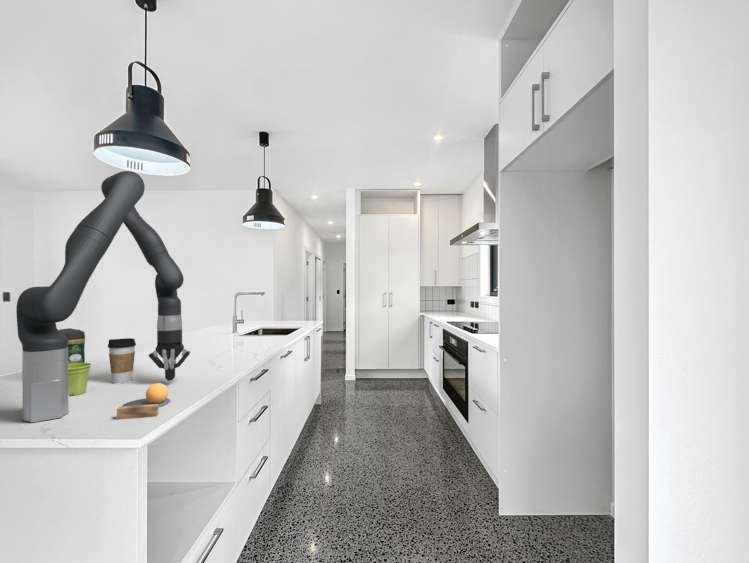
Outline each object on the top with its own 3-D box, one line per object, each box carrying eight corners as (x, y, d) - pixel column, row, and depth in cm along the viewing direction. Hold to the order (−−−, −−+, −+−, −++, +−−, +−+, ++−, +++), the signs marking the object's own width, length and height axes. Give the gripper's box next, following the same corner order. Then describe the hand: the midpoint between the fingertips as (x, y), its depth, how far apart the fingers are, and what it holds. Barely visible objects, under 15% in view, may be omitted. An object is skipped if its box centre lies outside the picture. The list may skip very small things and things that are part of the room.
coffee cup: (101, 383, 141) (101, 339, 141) (123, 378, 149) (123, 336, 149) (120, 385, 138) (120, 340, 138) (141, 379, 146) (141, 337, 146)
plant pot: (69, 398, 122) (69, 369, 122) (47, 396, 125) (47, 367, 126) (99, 391, 131) (99, 363, 131) (78, 388, 134) (78, 362, 134)
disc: (175, 404, 115) (175, 404, 115) (125, 413, 108) (125, 412, 108) (164, 395, 125) (164, 395, 125) (118, 403, 117) (118, 402, 117)
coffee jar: (51, 382, 143) (50, 328, 144) (77, 378, 150) (77, 326, 150) (61, 386, 138) (61, 330, 138) (88, 381, 144) (88, 328, 144)
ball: (172, 383, 120) (171, 403, 118) (154, 386, 121) (152, 406, 118) (162, 380, 115) (160, 400, 113) (142, 383, 115) (140, 403, 113)
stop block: (158, 413, 107) (158, 403, 107) (156, 416, 105) (156, 406, 105) (119, 416, 105) (119, 406, 105) (116, 419, 103) (116, 409, 103)
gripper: (193, 326, 144) (193, 376, 144) (151, 328, 141) (151, 379, 141) (188, 328, 137) (189, 381, 137) (144, 330, 133) (145, 384, 133)
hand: (170, 380), depth 139 cm, fingers closed
